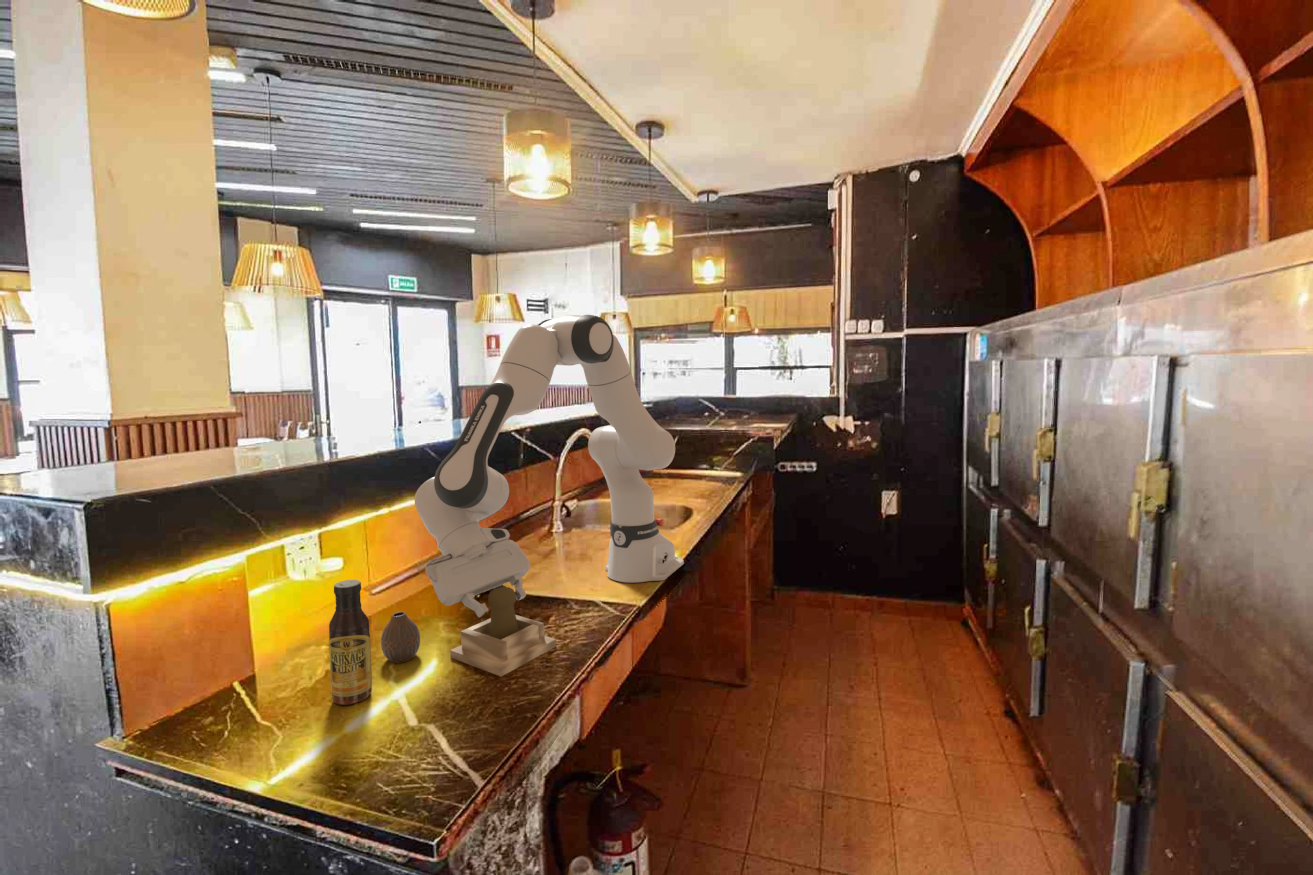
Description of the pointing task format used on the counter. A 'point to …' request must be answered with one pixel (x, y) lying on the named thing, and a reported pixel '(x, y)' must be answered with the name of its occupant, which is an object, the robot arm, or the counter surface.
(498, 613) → the cork
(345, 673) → the sauce bottle
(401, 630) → the vase
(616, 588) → the counter surface
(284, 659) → the counter surface
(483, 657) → the shaker holder
